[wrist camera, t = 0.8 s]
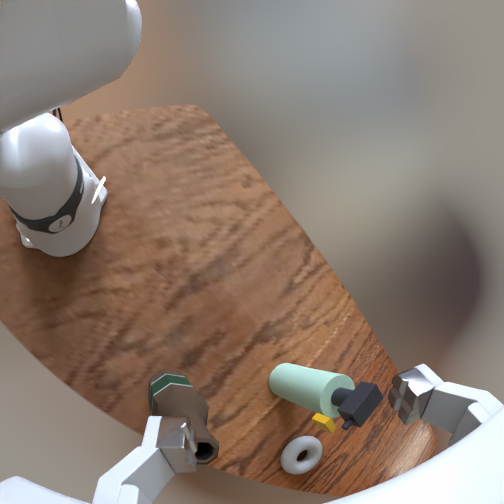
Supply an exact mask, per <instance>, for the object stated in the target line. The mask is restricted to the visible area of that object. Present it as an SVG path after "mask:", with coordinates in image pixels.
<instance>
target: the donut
mask: <svg viewBox="0 0 504 504" xmlns="http://www.w3.org/2000/svg"><path fill="white" fill-rule="evenodd" d="M304 450H307V454H306V456H305V457H304V458H303V459H302V460H300V461H297V456H298V455H299V453H301V452H302V451H304ZM321 455H322V445H321V443H320V442H319V440H318V439H316V438H314V437H312V436H302V437H298V438H296V439H294V440H292V441H291V442H290V443H289V444H288V445H287V446H286V447H285V448H284V450H283V452H282V454H281V459H280V462H281V466H282V468H283V469H284V470H285V471H286V472H288V473H291V474H302V473H305V472H307V471H309V470H311V469H312V468H313V467H314V466H315V465H316V464H317V463H318V461H319V460H320V457H321Z"/></svg>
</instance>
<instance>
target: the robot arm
mask: <svg viewBox="0 0 504 504" xmlns="http://www.w3.org/2000/svg"><path fill="white" fill-rule="evenodd" d="M0 1H1V4H0V198H1V199H3V200H4V201H5V202H6V203H7V204H8V205H9V207H10V209H11V211H12V213H13V216H14V218H16V221H17V224H16V227H17V229H18V230H19V231H20V235H21V241H22V244H23V245H24V246H25V247H27V248H37V249H39V250H41V251H43V252H44V253H46V254H48V255H51V256H56V257H64V256H69V255H72V254H74V253H76V252H78V251H79V250H81V249H82V248H83V247H84V246H86V245H87V243H88V242H89V241H90V240H91V238H92V237H93V235H94V233H95V231H96V229H97V226H98V223H99V218H100V211H101V207H102V206H103V204H104V202H105V200H106V198H107V195H108V193H107V190H106V189H105V187H104V186H103V183H104V181H105V177H103V179H102V181H101V182H100V181H99V180H98V179H97V177H96V176H95V175H94V174H93V172H92V171H91V170H90V168H89V167H88V166H87V165H86V163H85V162H84V161H83V159H82V158H81V157H80V155H79V154H78V153H77V151H76V150H75V149H74V147H73V146H72V145H71V141H70V137H69V134H68V131H67V129H66V127H65V126H64V124H63V120H62V115H61V110H60V107H62V106H64V105H67V104H69V103H72V102H74V101H76V100H78V99H79V98H81V97H83V96H85V95H87V94H89V93H91V92H93V91H95V90H97V89H99V88H101V87H103V86H105V85H107V84H109V83H111V82H113V81H115V80H117V79H119V78H120V77H121V76H122V75H123V73H124V72H125V71H126V69H127V68H128V66H129V65H130V63H131V62H132V60H133V58H134V56H135V54H136V51H137V49H138V46H139V43H140V39H141V33H142V18H141V13H140V9H139V6H138V4H137V2H136V0H0ZM56 108H57V109H58V113H59V117H60V120H59V119H57V118H56ZM52 110H53V115H52V114H50V113H48V112H49V111H52ZM392 384H393V386H392V388H391V389H390V390H389V394H388V398H389V403H390V405H391V407H392V408H393V409H394V410H396V411H399V413H398V416H399V418H400V419H401V420H402V422H403V423H404V424H405V426H406V425H408V424H410V423H412V422H415V421H417V420H419V419H421V420H424V421H426V422H428V423H430V424H432V425H434V426H436V427H439V428H441V429H443V430H445V431H448V432H450V433H452V434H453V435H452V437H451V438H450V440H449V442H448V445H449V446H450V447H449V448H448V449H446V450H445V451H443V452H441V453H440V454H438V455H436V456H435V457H433V458H431V459H430V460H428V461H426V462H424V463H422V464H421V465H419V466H417V467H415V468H413V469H411V470H409V471H407V472H405V473H403V474H401V475H399V476H397V477H395V478H392V479H390V480H388V481H386V482H383V483H381V484H379V485H376V486H374V487H371V488H369V489H366V490H363V491H361V492H358V493H355V494H352V495H349V496H346V497H343V498H340V499H337V500H334V501H330V502H327V503H323V504H504V405H502V403H500V402H499V401H498V400H497V399H496V398H495V397H494V396H493V395H492V394H490V393H489V392H488V391H484V390H479V389H475V388H471V387H467V386H462V385H458V384H454V383H451V382H445V383H444V382H443V381H442V380H441V379H440V378H439V377H438V376H437V375H436V374H435V373H434V372H433V371H432V370H431V369H430V368H428V367H427V366H426V365H425V364H421V365H419V366H416V367H414V368H411V369H409V370H407V371H404V372H402V373H399V374H396V375H394V377H393V379H392ZM197 446H198V445H197V437H196V433H195V430H194V429H193V428H191V420H190V418H189V417H188V416H150V417H149V418H148V421H147V425H146V429H145V433H144V437H143V441H142V445H141V447H137V448H135V449H134V450H133V451H132V452H131V453H130V454H129V455H127V456H126V457H125V458H124V459H122V460H121V461H120V462H119V463H118V464H116V465H115V466H114V467H113V468H111V469H110V470H109V471H108V472H106V473H105V474H104V475H103V476H101V477H100V478H99V480H98V484H97V487H96V490H95V494H94V497H93V501H92V504H153V503H152V501H153V500H154V499H155V498H156V497H157V496H158V494H159V493H160V492H161V491H162V489H163V488H164V487H165V486H166V485H167V483H168V482H169V481H170V480H171V478H172V477H173V476H174V475H175V473H194V472H197V458H196V456H195V453H196V452H197ZM0 504H91V503H87V502H84V501H80V500H77V499H74V498H71V497H68V496H65V495H62V494H60V493H57V492H54V491H52V490H49V489H47V488H44V487H42V486H40V485H37V484H35V483H33V482H31V481H29V480H27V479H25V478H22V477H19V476H14V477H11V478H8V479H6V480H4V481H2V482H0Z"/></svg>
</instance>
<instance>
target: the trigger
mask: <svg viewBox="0 0 504 504" xmlns="http://www.w3.org/2000/svg"><path fill="white" fill-rule="evenodd" d="M312 419H313V421H314V422H315V423H316V424H317V426H318V427H319V428H321V429H323V430H326V431H328V432H330V433H333V432H334V431H335V429H336V428H337V426H336V425H335V423H334V422H333V421H332V419H331V418H329V417H327V416H324V415H322V414H319V413H317V414H316V415H315V416H314V417H313V418H312Z"/></svg>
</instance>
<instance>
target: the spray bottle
mask: <svg viewBox="0 0 504 504" xmlns="http://www.w3.org/2000/svg"><path fill="white" fill-rule="evenodd" d="M269 386H270V389H271V391H272V392H273V393H274V394H275V395H277V396H279V397H282V398H284V399H286V400H288V401H290V402H293V403H295V404H297V405H300V406H302V407H304V408H307V409H309V410H312V411H314V412H317V413H319V414H322V415H324V416H327V417H330V418H335V417H338V416H340V415H341V417H342V418H343V419H344V421H345V423H344V424H343V425H342V428H343V429H345V430H348V429H349V427H350V426H351V425H355V426H358V427H361V426H362V425H363V424H364V422H365V421H366V420H367V419H368V417H369V416H370V415H371V414H372V412H373V411H374V410H375V408H376V407H377V406H378V404H379V403H380V402H381V400H382V399H383V396H382V394H381V392H380V390H379V388H378V387H377V385H376V384H373V383H367V382H360V383H359V384H358V386H357V387H356V388H355V387H354V383H353V381H352V379H351V378H350V377H348V376H347V375H343V374H337V373H332V372H327V371H322V370H317V369H312V368H307V367H303V366H298V365H294V364H290V363H284V364H281V365H279V366H277V367H276V368H275V369H274V370H273V371H272V373H271V375H270V378H269Z"/></svg>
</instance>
